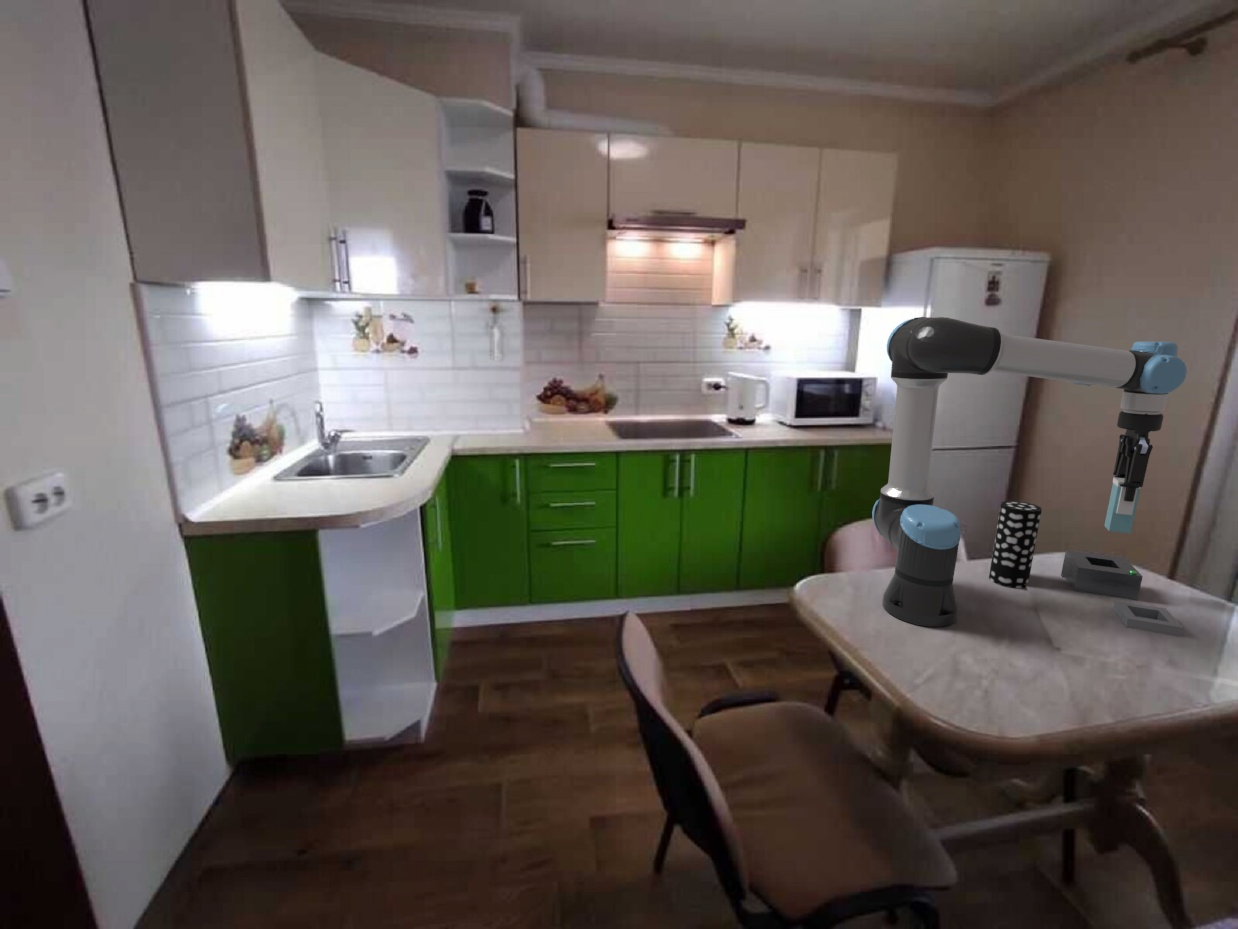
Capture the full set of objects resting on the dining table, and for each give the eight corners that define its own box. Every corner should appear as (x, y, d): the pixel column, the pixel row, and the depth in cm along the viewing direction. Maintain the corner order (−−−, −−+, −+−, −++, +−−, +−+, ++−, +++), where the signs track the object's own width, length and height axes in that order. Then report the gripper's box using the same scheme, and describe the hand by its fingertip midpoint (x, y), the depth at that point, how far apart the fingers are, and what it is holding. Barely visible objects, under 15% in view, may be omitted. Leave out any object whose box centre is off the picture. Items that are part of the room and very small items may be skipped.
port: (1073, 594, 141) (1078, 565, 139) (1060, 575, 151) (1066, 548, 150) (1136, 604, 136) (1143, 574, 134) (1119, 583, 147) (1125, 556, 145)
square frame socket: (1125, 631, 124) (1128, 618, 123) (1111, 612, 132) (1114, 600, 131) (1180, 640, 120) (1183, 627, 120) (1162, 621, 128) (1165, 608, 128)
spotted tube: (1035, 588, 144) (1050, 511, 139) (1001, 588, 144) (1015, 511, 139) (1014, 574, 152) (1027, 500, 147) (981, 574, 152) (993, 500, 147)
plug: (1108, 531, 137) (1118, 481, 134) (1103, 525, 140) (1113, 477, 138) (1131, 533, 135) (1142, 483, 132) (1125, 528, 139) (1136, 479, 136)
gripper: (1178, 418, 122) (1154, 524, 127) (1150, 407, 137) (1129, 502, 142) (1132, 416, 125) (1111, 519, 131) (1109, 405, 140) (1091, 499, 146)
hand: (1120, 510), depth 137 cm, fingers closed on plug, 4 cm apart
